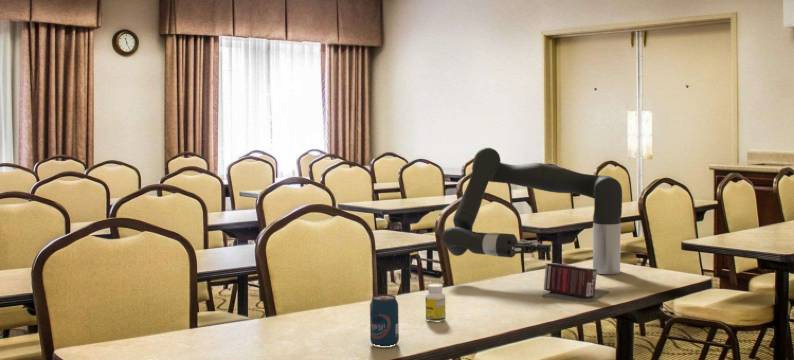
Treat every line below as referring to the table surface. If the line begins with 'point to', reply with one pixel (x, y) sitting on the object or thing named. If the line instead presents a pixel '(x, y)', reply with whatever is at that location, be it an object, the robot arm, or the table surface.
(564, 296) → the mat
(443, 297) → the supplement bottle
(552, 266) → the supplement box
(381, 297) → the soda can
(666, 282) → the table surface
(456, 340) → the table surface
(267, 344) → the table surface
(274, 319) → the table surface
